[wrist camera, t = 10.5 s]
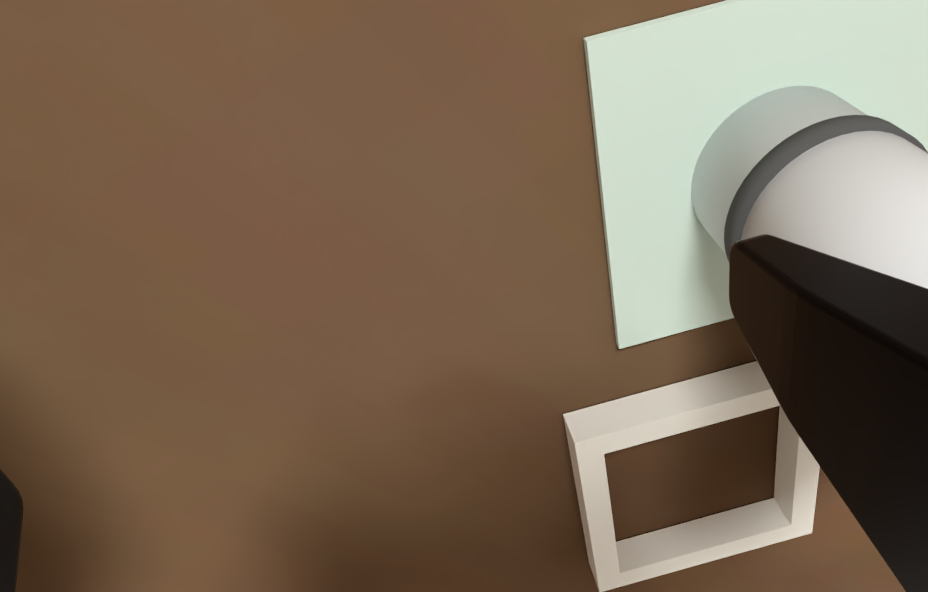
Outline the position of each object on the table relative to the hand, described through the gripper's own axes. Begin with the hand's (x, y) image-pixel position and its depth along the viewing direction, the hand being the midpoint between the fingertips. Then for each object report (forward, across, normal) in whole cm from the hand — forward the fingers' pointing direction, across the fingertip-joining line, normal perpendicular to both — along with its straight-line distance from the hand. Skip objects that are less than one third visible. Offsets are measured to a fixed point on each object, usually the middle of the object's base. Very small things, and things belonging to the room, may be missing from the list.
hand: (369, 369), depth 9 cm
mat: (+13, -12, +7) cm, 19 cm away
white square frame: (+13, -9, +20) cm, 25 cm away
